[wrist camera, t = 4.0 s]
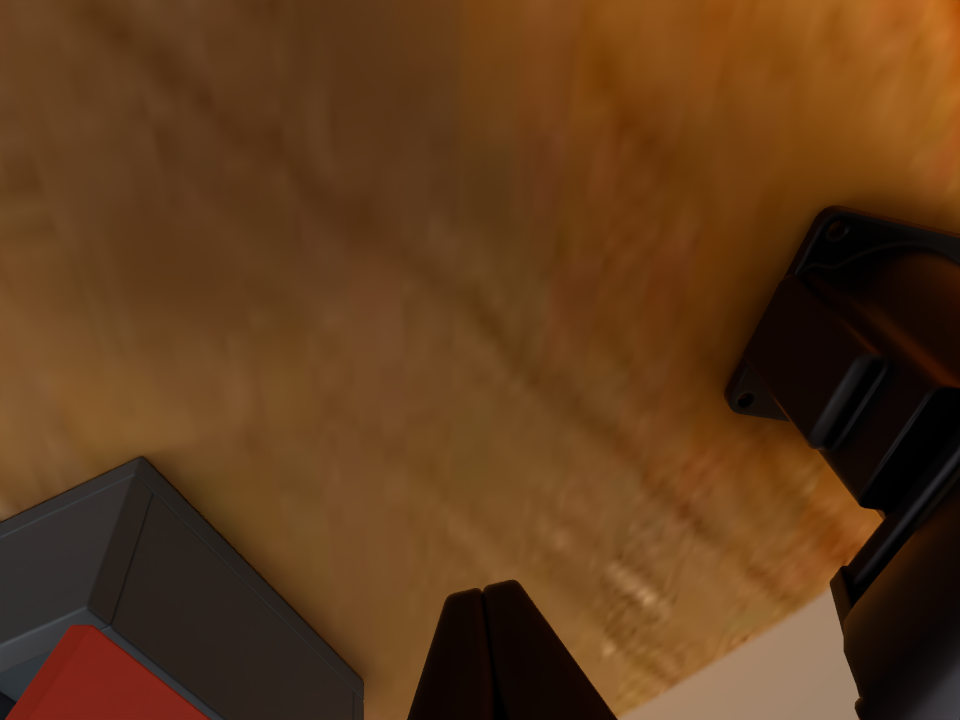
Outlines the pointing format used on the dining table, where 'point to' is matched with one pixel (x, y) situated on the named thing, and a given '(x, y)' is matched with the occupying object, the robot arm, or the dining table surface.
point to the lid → (98, 685)
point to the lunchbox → (160, 604)
